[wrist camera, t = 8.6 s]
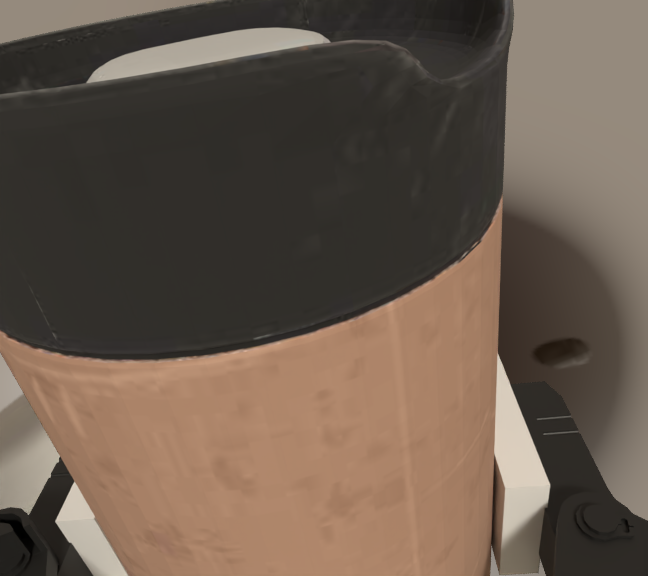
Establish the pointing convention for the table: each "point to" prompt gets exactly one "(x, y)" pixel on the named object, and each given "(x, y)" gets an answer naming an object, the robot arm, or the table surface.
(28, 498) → the table surface
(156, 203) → the travel mug
